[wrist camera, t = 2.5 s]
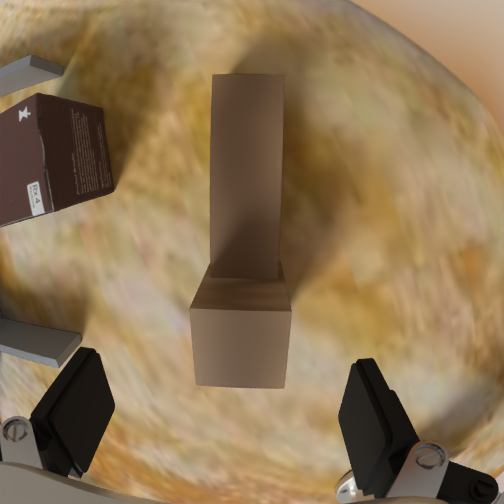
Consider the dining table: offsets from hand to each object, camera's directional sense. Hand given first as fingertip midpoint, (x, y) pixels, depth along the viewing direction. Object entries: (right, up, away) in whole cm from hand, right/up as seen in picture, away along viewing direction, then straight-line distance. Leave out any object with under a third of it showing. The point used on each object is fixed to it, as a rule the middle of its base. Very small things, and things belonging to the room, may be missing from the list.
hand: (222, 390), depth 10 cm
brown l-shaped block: (+1, +7, +9) cm, 11 cm away
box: (-11, +11, +8) cm, 18 cm away
